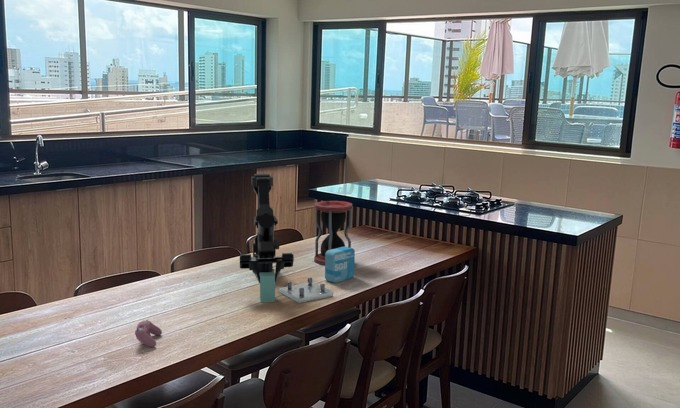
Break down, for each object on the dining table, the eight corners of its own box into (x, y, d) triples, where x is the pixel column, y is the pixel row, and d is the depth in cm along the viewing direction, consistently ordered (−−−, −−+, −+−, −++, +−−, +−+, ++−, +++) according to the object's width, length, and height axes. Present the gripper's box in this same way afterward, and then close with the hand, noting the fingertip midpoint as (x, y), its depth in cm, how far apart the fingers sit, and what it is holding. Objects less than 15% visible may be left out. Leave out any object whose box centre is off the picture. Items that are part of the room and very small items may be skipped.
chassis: (279, 292, 219) (279, 281, 219) (312, 285, 227) (312, 275, 226) (298, 303, 208) (298, 291, 207) (332, 296, 216) (333, 285, 215)
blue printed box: (333, 283, 230) (333, 253, 228) (324, 281, 233) (324, 250, 231) (354, 277, 238) (355, 247, 236) (346, 274, 242) (346, 245, 239)
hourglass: (354, 257, 268) (355, 201, 264) (348, 267, 252) (349, 207, 248) (318, 254, 271) (318, 199, 266) (310, 264, 255) (310, 206, 251)
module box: (260, 297, 214) (259, 272, 212) (274, 296, 214) (274, 272, 213) (260, 302, 209) (260, 276, 207) (275, 301, 209) (274, 276, 208)
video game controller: (149, 339, 180) (137, 319, 178) (163, 332, 180) (151, 312, 178) (142, 353, 170) (129, 332, 169) (157, 346, 170) (144, 325, 169)
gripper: (239, 232, 210) (239, 272, 201) (293, 230, 213) (296, 270, 204) (239, 248, 219) (240, 287, 210) (291, 247, 222) (294, 285, 213)
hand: (267, 282), depth 209 cm, fingers closed on module box, 5 cm apart
